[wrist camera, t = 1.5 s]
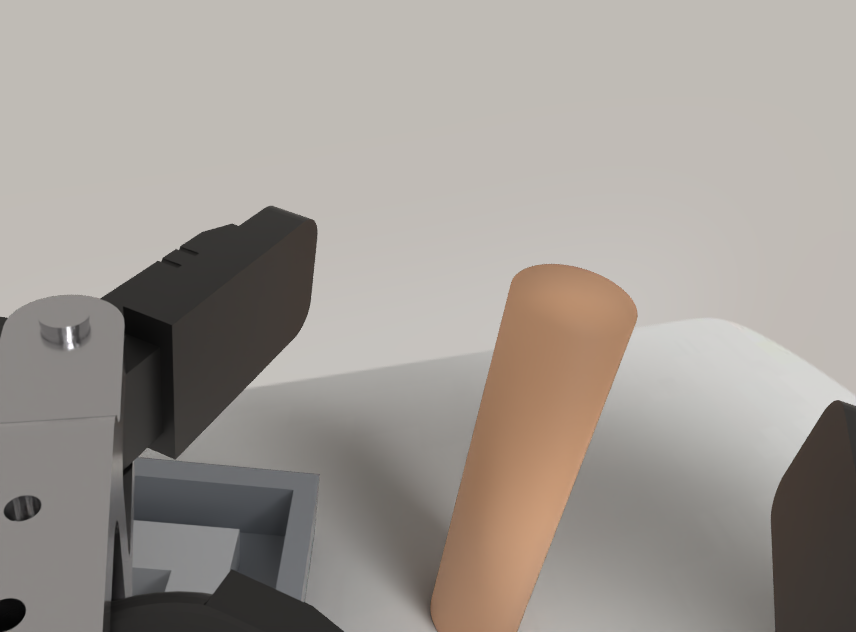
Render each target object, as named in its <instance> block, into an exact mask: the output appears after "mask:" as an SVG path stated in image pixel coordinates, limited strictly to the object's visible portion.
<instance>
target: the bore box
mask: <svg viewBox="0 0 856 632" xmlns="http://www.w3.org/2000/svg"><path fill="white" fill-rule="evenodd" d="M134 470H135V482H134V523H133V565H132V595H133V596H135V595H142V594H148V593H155V592H171V591H188V592H203V593H209V594H213V593H214V592H215V591H216V589H217V588H218V586H219V585H220V584H221V582H222V581H223V580H224V578H225V577H226V576H227V574H228V573H229V572H230V570H231V569H232V570H235V571H237V572H239V573H241V574H243V575H245V576H248V577H250V578H252V579H254V580H256V581H259V582H261V583H263V584H265V585H267V586H270V587H272V588H274V589H276V590H278V591H281V592H283V593H285V594H287V595H289V596H291V597H294V598H296V599H298V600H300V601H302V602H305V595H306V588H307V581H308V574H309V567H310V560H311V553H312V546H313V539H314V532H315V521H316V510H317V498H318V487H319V475H320V474H311V473H300V472H289V471H279V470H268V469H257V468H247V467H236V466H225V465H214V464H204V463H193V462H182V461H172V460H161V459H150V458H139V457H137V458H136V459H135V460H134Z"/></svg>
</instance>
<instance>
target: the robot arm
mask: <svg viewBox="0 0 856 632" xmlns="http://www.w3.org/2000/svg"><path fill="white" fill-rule="evenodd" d="M316 243H317V225H316V223H315V221H314V220H312V219H309V218H306V217H303V216H301V215H297V214H295V213H292V212H289V211H285V210H283V209H280V208H277V207H274V206H268V207H266V208H264V209H263V210H261V211H260V212H259V213H257V214H256V215H254V216H253V217H251V218H250V219H249V220H247V221H245V222H244V223H243V224H241V225H240V226H237V225H234V224H229V225H226V226H223V227H219V228H216V229H212V230H208V231H205V232H202V233H200V234H199V235H197V236H195V237H194V238H192V239H191V240H190V241H188V242H186V243H185V244H183V245H182V246H180V249H179V250H177V249H176V250H174V251H172V252H171V253H169V254H168V255H167V256H165V257H163V259H162V261H161V262H160V261H157V262H156V263H154V264H153V265H151V266H150V267H148V268H146V269H145V270H143V271H142V272H140V273H139V274H137V275H136V276H134V277H133V278H131V279H130V280H128V281H127V282H125V283H123V284H122V285H120V286H119V287H117V288H116V289H114V290H113V291H112V292H110V293H108V294H107V295H105V296H104V297H102V298H101V299H99V298H94V297H90V296H83V295H60V296H52V297H47V298H43V299H39V300H36V301H34V302H31V303H29V304H27V305H24V306H22V307H21V308H19V309H18V310H16V311H15V312H14V313H13V314H11V315H10V316H9V318H5V317H0V632H344V631H343V630H341V629H340V628H339V627H338V626H336V625H335V624H334V623H333V622H331V621H330V620H329V619H328V618H327V617H325V616H324V615H323V614H322V613H320V612H319V611H318V610H317V609H315V608H314V607H313V606H311V605H309V604H307V603H305V602H302V601H300V600H298V599H296V598H294V597H291V596H289V595H287V594H285V593H283V592H281V591H278V590H276V589H274V588H272V587H270V586H267V585H265V584H263V583H261V582H259V581H256V580H254V579H252V578H250V577H248V576H245V575H243V574H241V573H239V572H237V571H235V570H232V569H231V570H230V572H229V573H228V574H227V576H226V577H225V578H224V580H223V581H222V582H221V584H220V585H219V586H218V588H217V589H216V591H215V592H214V593H213V594H209V593H203V592H188V591H171V592H155V593H148V594H142V595H135V596H133V595H132V565H133V523H134V482H135V470H134V460H135V459H136V458H137V457H138V456H139V455H140V454H141V453H142V452H143V451H144V450H145V449H146V448H147V447H148V448H150V449H152V450H154V451H157V452H159V453H161V454H164V455H166V456H168V457H171V458H173V459H176V458H177V457H178V456H179V455H180V454H181V453H182V452H183V451H184V450H185V449H186V448H187V447H188V446H189V445H190V444H191V443H192V442H193V441H194V440H195V439H196V438H197V437H198V436H199V435H200V434H201V433H202V432H203V431H204V430H205V429H206V428H207V427H208V426H209V425H210V424H211V423H212V422H213V421H214V420H215V419H216V418H217V417H218V416H219V414H220V413H221V412H222V411H223V410H224V409H225V408H226V407H227V406H228V405H229V404H230V403H231V402H232V401H233V400H234V399H235V398H236V397H237V396H238V395H239V394H240V393H241V392H242V391H243V390H244V389H245V388H246V387H247V386H248V385H249V384H250V383H251V382H252V381H253V380H254V379H255V378H256V377H257V375H259V373H260V372H262V371H263V369H264V368H265V367H266V366H267V365H268V364H269V363H270V362H271V361H272V360H273V359H274V358H275V357H276V356H277V355H278V354H279V353H280V352H281V351H282V350H283V349H284V348H285V347H286V346H287V345H288V344H289V343H290V342H291V341H292V340H293V339H294V338H295V337H296V335H297V334H298V333H299V331H300V330H301V328H302V326H303V324H304V322H305V319H306V317H307V314H308V310H309V307H310V302H311V293H312V283H313V273H314V263H315V253H316ZM771 534H772V559H773V584H774V608H775V632H856V406H854V405H851V404H848V403H845V402H842V401H839V400H836V401H834V402H832V403H831V404H830V405H829V406H828V407H827V408H826V409H825V411H824V412H823V414H822V415H821V417H820V418H819V420H818V422H817V423H816V425H815V426H814V428H813V430H812V431H811V433H810V434H809V436H808V437H807V439H806V441H805V442H804V444H803V445H802V447H801V449H800V450H799V452H798V453H797V455H796V457H795V458H794V460H793V461H792V463H791V465H790V466H789V468H788V469H787V471H786V472H785V474H784V476H783V478H782V479H781V481H780V483H779V486H778V488H777V491H776V494H775V497H774V501H773V505H772V511H771Z"/></svg>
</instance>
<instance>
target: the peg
mask: <svg viewBox="0 0 856 632" xmlns="http://www.w3.org/2000/svg"><path fill="white" fill-rule="evenodd" d="M636 321H637V309H636V306H635V304H634V302H633V300H632V299H631V298H630V296H629V295H628V294H627V293H626V292H625V291H624V290H623V289H622V288H620V287H619V286H618V285H616V284H615V283H613V282H612V281H610V280H609V279H607V278H605V277H603V276H601V275H599V274H596V273H594V272H591V271H588V270H585V269H582V268H578V267H574V266H568V265H560V264H544V265H543V264H542V265H536V266H532V267H529V268H526V269H524V270H522V271H520V272H519V273H518V274H516V275H515V277H514V278H513V280H512V282H511V285H510V290H509V293H508V297H507V301H506V305H505V310H504V313H503V317H502V321H501V325H500V329H499V333H498V337H497V341H496V345H495V349H494V353H493V357H492V361H491V365H490V369H489V373H488V377H487V380H486V384H485V388H484V392H483V396H482V400H481V404H480V408H479V412H478V416H477V420H476V424H475V428H474V432H473V436H472V440H471V444H470V448H469V452H468V456H467V460H466V464H465V468H464V472H463V476H462V480H461V484H460V488H459V492H458V495H457V499H456V503H455V507H454V511H453V515H452V519H451V523H450V527H449V531H448V535H447V539H446V543H445V547H444V551H443V555H442V559H441V563H440V567H439V571H438V575H437V579H436V583H435V587H434V591H433V595H432V599H431V606H430V610H431V617H432V620H433V623H434V625H435V627H436V629H437V631H438V632H517V631H518V628H519V625H520V623H521V620H522V618H523V615H524V612H525V610H526V607H527V605H528V602H529V599H530V597H531V594H532V592H533V589H534V586H535V584H536V581H537V579H538V576H539V573H540V571H541V568H542V566H543V563H544V560H545V558H546V555H547V553H548V550H549V547H550V545H551V542H552V540H553V537H554V534H555V532H556V529H557V527H558V524H559V521H560V519H561V516H562V514H563V511H564V508H565V506H566V503H567V501H568V498H569V495H570V493H571V490H572V488H573V485H574V482H575V480H576V477H577V475H578V472H579V469H580V467H581V464H582V462H583V459H584V456H585V454H586V451H587V449H588V446H589V443H590V441H591V438H592V436H593V433H594V430H595V428H596V425H597V423H598V420H599V417H600V415H601V412H602V410H603V407H604V404H605V402H606V399H607V397H608V394H609V391H610V389H611V386H612V383H613V381H614V378H615V376H616V373H617V370H618V368H619V365H620V363H621V360H622V357H623V355H624V352H625V350H626V347H627V344H628V342H629V339H630V337H631V334H632V331H633V329H634V326H635V324H636Z"/></svg>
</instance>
